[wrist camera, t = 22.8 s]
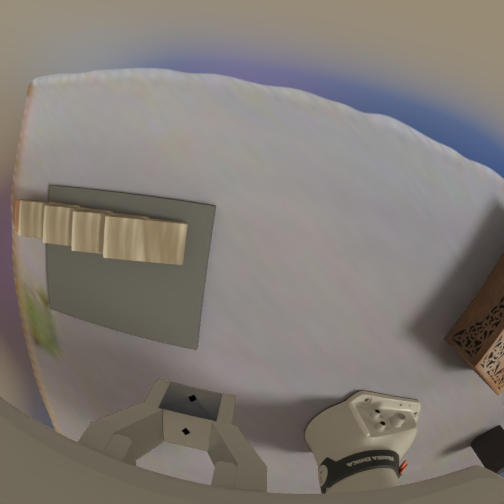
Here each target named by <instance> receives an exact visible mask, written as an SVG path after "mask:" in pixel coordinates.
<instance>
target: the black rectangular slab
mask: <svg viewBox="0 0 504 504" xmlns="http://www.w3.org/2000/svg"><path fill="white" fill-rule="evenodd" d="M471 447H472V448H473V450H474V451H475V453H476V454H477V456H478V457H479V459H480V460H481V462H482V464H483V465H484V467H485V468H487V469H489V470H491V471H492V472H494V473H496V474H498V475H499V474H500V473H502V472H503V471H504V430H503V428H502V427H501V426H500V425H499V426H497V427H495V428H494V429H492V430H490V431H488V432H486V433H485V434H483V435H481V436H479V437H477V438H475V439H474V441H473V443H472V444H471Z"/></svg>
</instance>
